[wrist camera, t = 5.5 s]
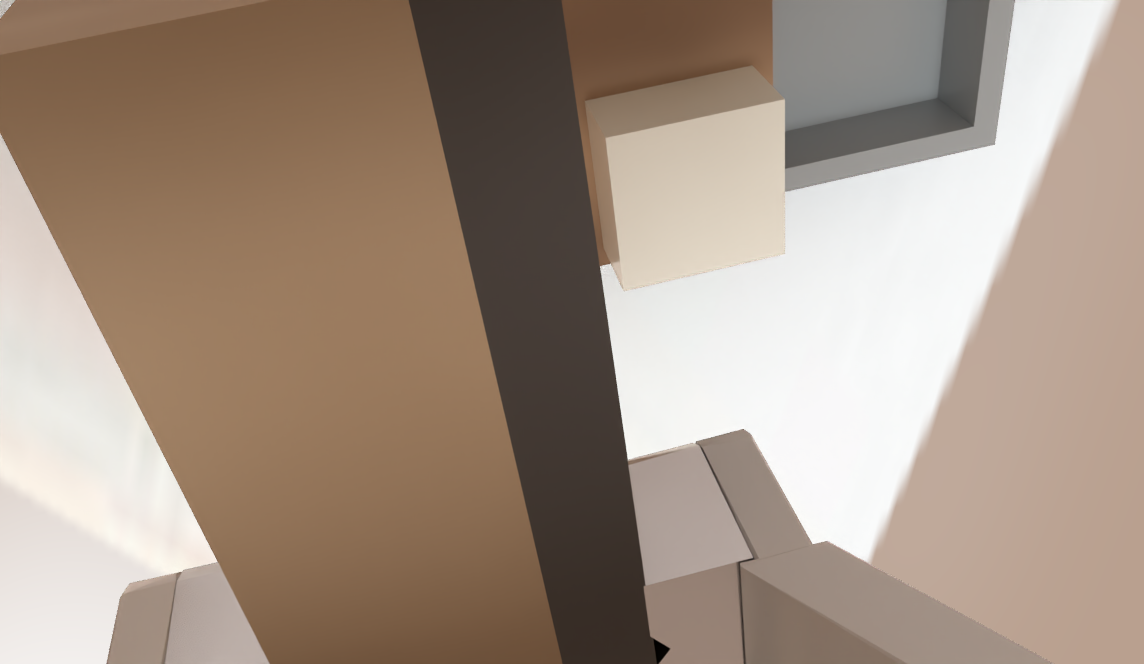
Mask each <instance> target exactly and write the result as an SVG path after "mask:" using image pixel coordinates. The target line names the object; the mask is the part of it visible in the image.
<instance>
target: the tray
mask: <svg viewBox="0 0 1144 664" xmlns="http://www.w3.org/2000/svg"><path fill="white" fill-rule="evenodd" d="M1014 3H1015V0H772V11H773V87H774V88H775V89H776V90H777V92H778V93H779V94H780V95H781V96H782V97H783V98H784V99H785V192H786V191H791V190H795V189H800V188H804V187H809V186H813V185H817V184H822V183H826V182H831V181H835V180H840V179H844V178H848V177H853V176H857V175H862V174H866V173H871V172H875V171H879V170H884V169H888V168H893V167H897V166H902V165H906V164H910V163H915V162H919V161H924V160H928V159H933V158H937V157H942V156H946V155H950V154H955V153H959V152H964V151H968V150H973V149H977V148H981V147H986V146H990V145H995V139H996V132H997V125H998V118H999V110H1000V103H1001V96H1002V89H1003V82H1004V75H1005V67H1006V60H1007V53H1008V46H1009V39H1010V31H1011V24H1012V17H1013V10H1014Z"/></svg>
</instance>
